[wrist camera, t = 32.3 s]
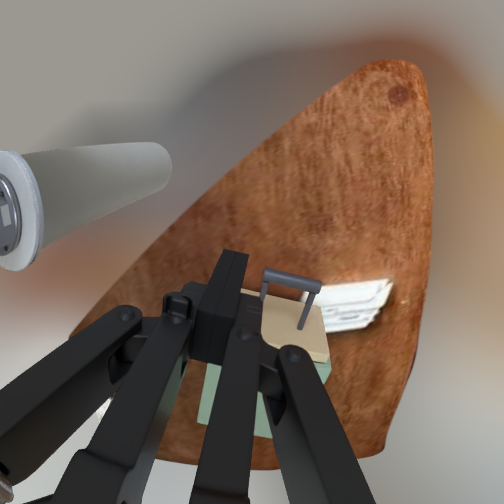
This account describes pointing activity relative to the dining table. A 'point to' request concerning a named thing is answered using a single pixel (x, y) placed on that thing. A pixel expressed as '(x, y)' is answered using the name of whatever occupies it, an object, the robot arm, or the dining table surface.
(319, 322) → the drawer
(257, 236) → the dining table surface
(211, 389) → the cabinet
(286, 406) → the robot arm
